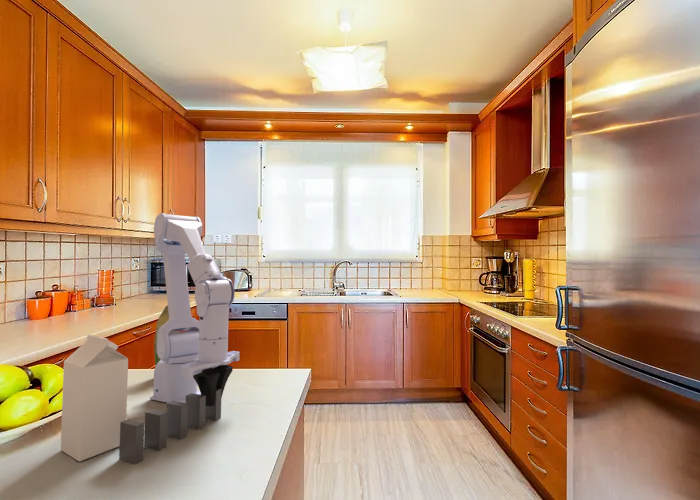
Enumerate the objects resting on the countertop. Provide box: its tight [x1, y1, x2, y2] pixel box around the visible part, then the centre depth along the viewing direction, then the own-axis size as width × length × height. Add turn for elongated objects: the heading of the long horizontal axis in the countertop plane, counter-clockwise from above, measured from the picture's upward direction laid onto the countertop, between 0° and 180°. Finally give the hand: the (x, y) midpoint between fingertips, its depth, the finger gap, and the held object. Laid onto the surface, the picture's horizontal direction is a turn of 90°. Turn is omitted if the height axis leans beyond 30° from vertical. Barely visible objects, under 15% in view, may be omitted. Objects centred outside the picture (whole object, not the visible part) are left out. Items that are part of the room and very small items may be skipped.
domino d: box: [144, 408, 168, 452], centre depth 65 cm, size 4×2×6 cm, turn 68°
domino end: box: [118, 418, 145, 465], centre depth 60 cm, size 4×2×6 cm, turn 67°
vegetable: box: [153, 304, 179, 366], centre depth 104 cm, size 6×6×20 cm
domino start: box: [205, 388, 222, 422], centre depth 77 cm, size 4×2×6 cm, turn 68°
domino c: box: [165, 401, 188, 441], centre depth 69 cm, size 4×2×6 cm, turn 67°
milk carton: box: [60, 334, 129, 462], centre depth 64 cm, size 7×7×19 cm
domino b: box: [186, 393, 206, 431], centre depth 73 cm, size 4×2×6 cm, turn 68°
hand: (212, 403), depth 77 cm, fingers closed on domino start, 2 cm apart
